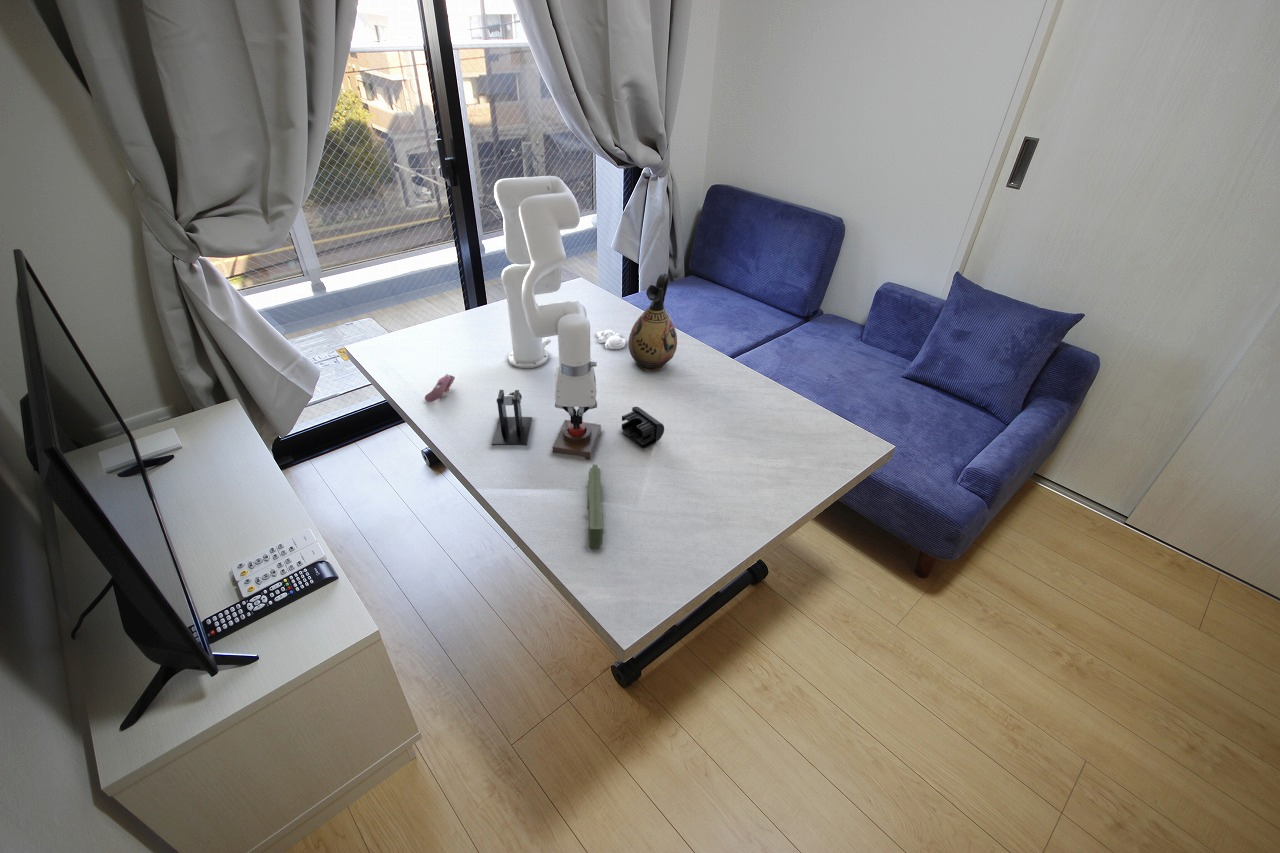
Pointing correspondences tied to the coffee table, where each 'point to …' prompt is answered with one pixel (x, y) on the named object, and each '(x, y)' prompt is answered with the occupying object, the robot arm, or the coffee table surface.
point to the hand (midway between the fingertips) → (576, 425)
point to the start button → (576, 430)
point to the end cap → (642, 428)
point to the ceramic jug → (653, 331)
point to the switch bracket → (511, 423)
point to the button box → (577, 441)
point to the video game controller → (440, 388)
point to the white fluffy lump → (611, 339)
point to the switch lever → (510, 398)
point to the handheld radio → (595, 508)
